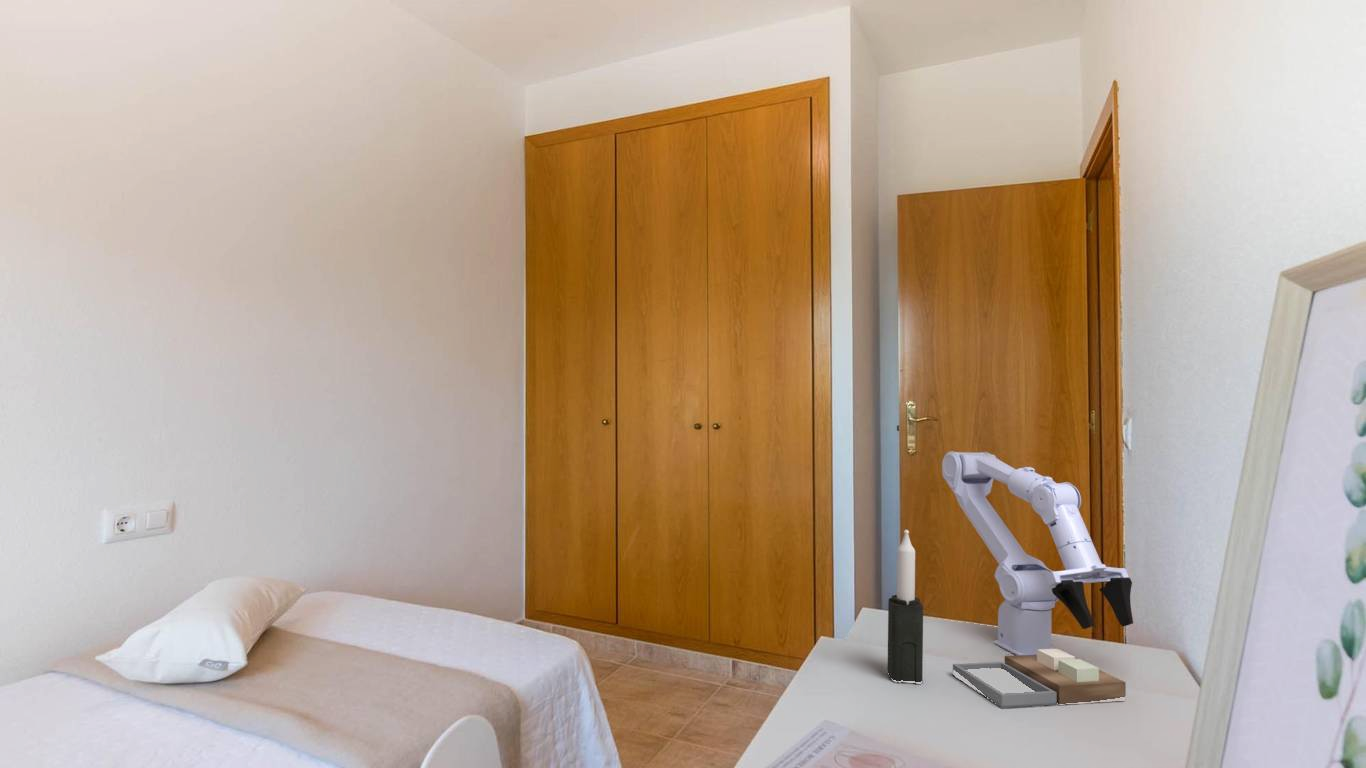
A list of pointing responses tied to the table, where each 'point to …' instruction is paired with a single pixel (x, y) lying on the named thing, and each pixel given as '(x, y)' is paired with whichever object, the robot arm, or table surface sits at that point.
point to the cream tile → (1052, 657)
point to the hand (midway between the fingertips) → (1108, 626)
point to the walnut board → (1068, 681)
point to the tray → (1009, 700)
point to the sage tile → (1078, 670)
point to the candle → (905, 620)
